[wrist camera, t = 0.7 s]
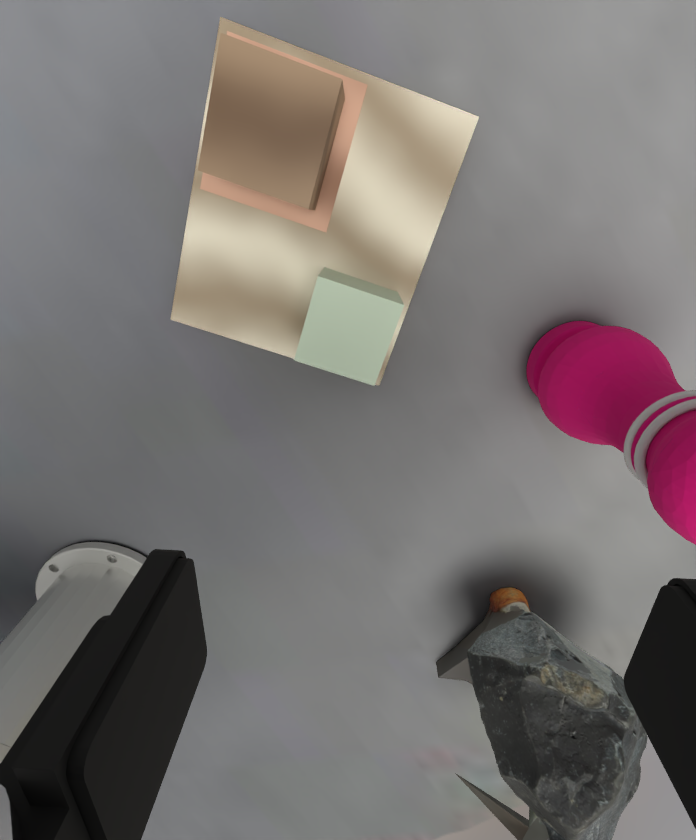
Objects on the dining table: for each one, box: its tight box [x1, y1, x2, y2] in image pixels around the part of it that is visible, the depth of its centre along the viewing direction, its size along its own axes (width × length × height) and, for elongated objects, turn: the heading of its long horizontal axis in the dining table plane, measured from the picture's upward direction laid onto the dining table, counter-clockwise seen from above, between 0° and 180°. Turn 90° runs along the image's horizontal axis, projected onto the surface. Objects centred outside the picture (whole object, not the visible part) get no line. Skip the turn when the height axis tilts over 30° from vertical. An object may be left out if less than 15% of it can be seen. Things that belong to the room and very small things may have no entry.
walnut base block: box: [198, 33, 345, 210], centre depth 25 cm, size 6×6×4 cm
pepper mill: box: [527, 321, 696, 545], centre depth 24 cm, size 7×7×20 cm
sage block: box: [294, 267, 404, 386], centre depth 29 cm, size 5×5×5 cm
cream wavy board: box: [170, 17, 479, 386], centre depth 29 cm, size 17×15×1 cm
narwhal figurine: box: [436, 587, 647, 840], centre depth 35 cm, size 14×15×18 cm
